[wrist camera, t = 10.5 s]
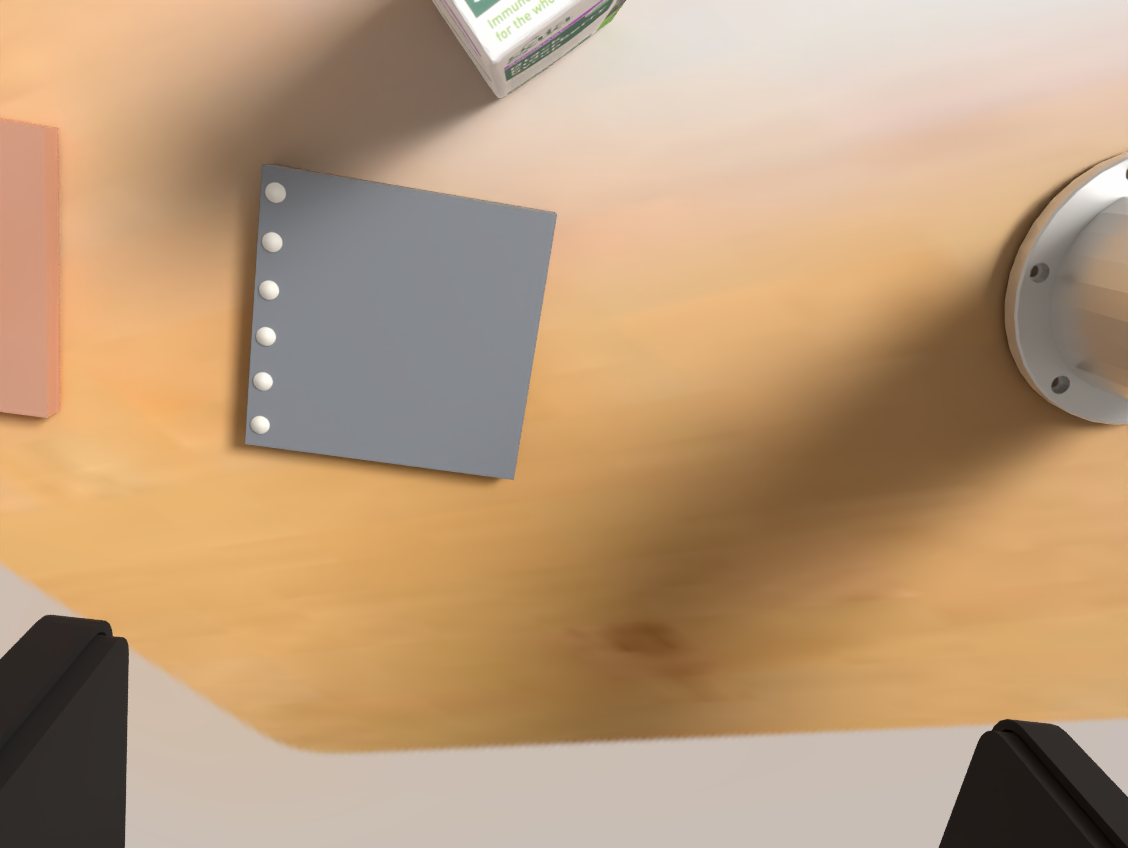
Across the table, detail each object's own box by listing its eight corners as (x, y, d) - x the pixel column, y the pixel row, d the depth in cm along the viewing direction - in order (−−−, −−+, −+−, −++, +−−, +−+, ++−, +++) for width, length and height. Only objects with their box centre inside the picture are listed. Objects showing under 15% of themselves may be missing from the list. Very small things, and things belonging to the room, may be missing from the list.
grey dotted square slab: (555, 212, 37) (557, 214, 36) (513, 470, 41) (513, 480, 39) (269, 163, 36) (261, 164, 34) (252, 435, 39) (244, 444, 38)
